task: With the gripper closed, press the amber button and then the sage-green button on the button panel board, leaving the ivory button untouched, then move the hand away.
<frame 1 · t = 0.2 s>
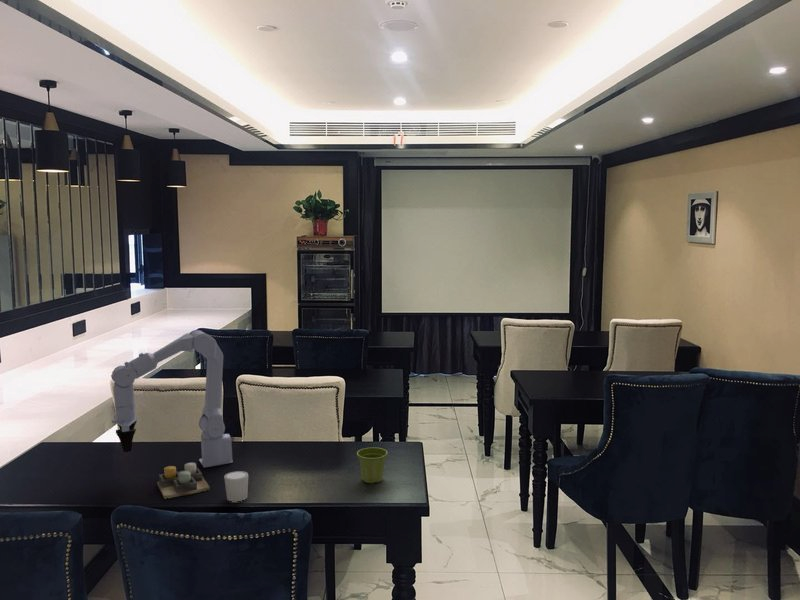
hand: (127, 447, 214), 10 cm above the table, tool pointing down, fingers open, 7 cm apart
button panel board: (183, 487, 208), on the table
ivory button: (190, 469, 212), point 4 cm above the table, slide at 0.0 cm
plant pot: (372, 480, 212), on the table
white cup: (237, 499, 199), on the table
sage button: (184, 478, 205), point 4 cm above the table, slide at 0.0 cm
amber button: (170, 472, 209), point 4 cm above the table, slide at 0.0 cm
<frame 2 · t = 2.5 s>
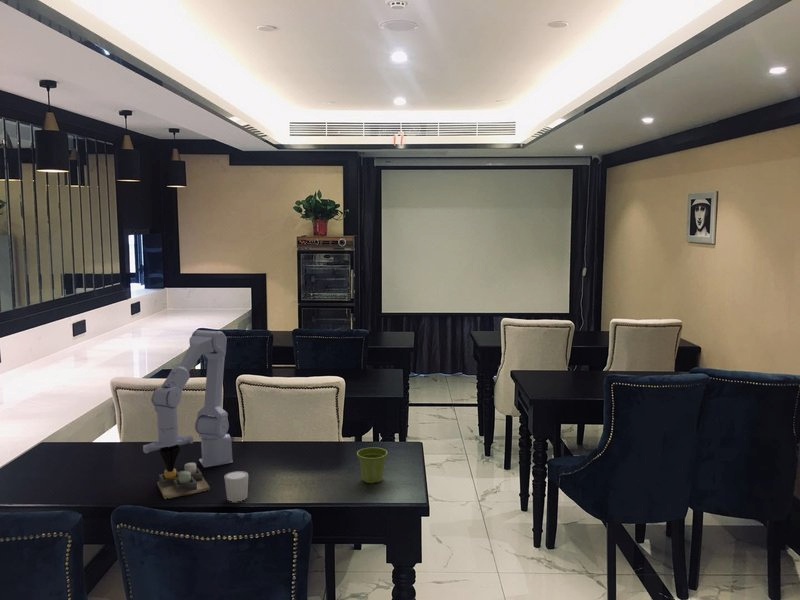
hand: (170, 470, 209), 5 cm above the table, tool pointing down, fingers closed, pressing on amber button
amber button: (170, 475, 209), point 3 cm above the table, slide at 0.7 cm, touching gripper
everything else where it was.
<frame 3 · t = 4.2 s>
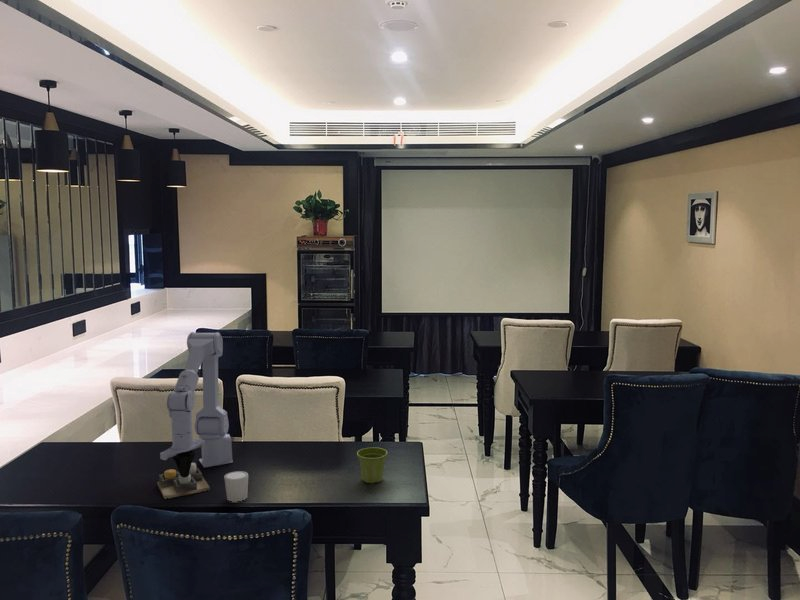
hand: (184, 476, 204), 5 cm above the table, tool pointing down, fingers closed, pressing on sage button
sage button: (184, 481, 205), point 3 cm above the table, slide at 0.9 cm, touching gripper
amber button: (170, 476, 209), point 3 cm above the table, slide at 1.0 cm
everything else where it was.
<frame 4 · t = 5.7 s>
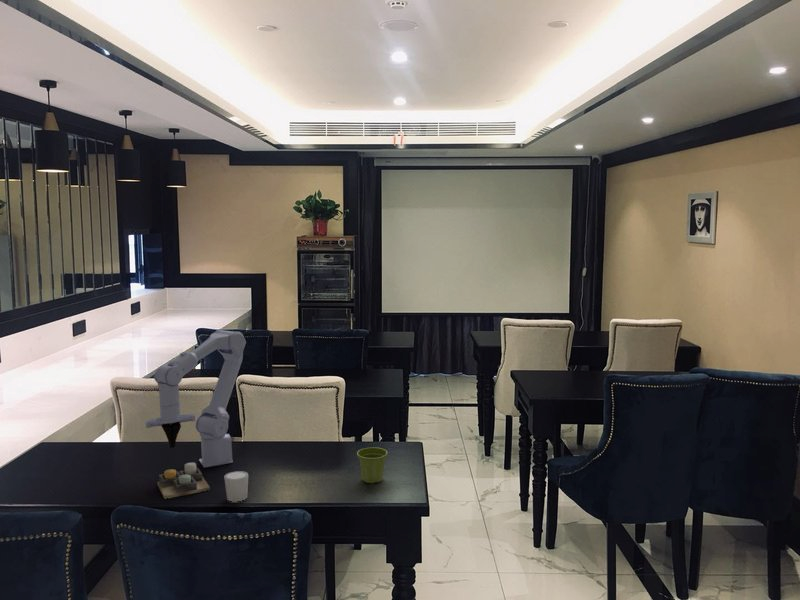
hand: (172, 446, 215), 10 cm above the table, tool pointing down, fingers closed
sage button: (184, 481, 205), point 3 cm above the table, slide at 1.0 cm
everything else where it was.
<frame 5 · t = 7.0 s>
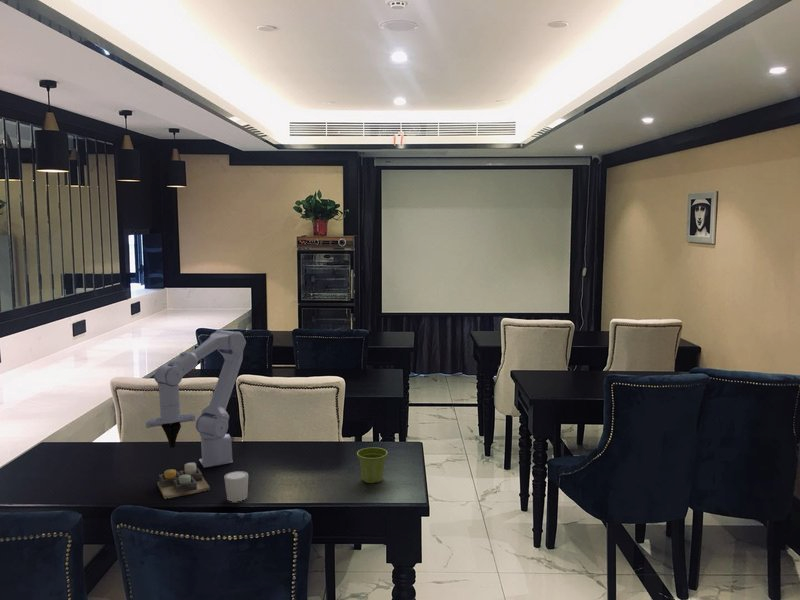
hand: (172, 446, 215), 10 cm above the table, tool pointing down, fingers closed
nothing on the table moved.
at the end: amber button slide at 1.0 cm; sage button slide at 1.0 cm; ivory button slide at 0.0 cm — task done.
